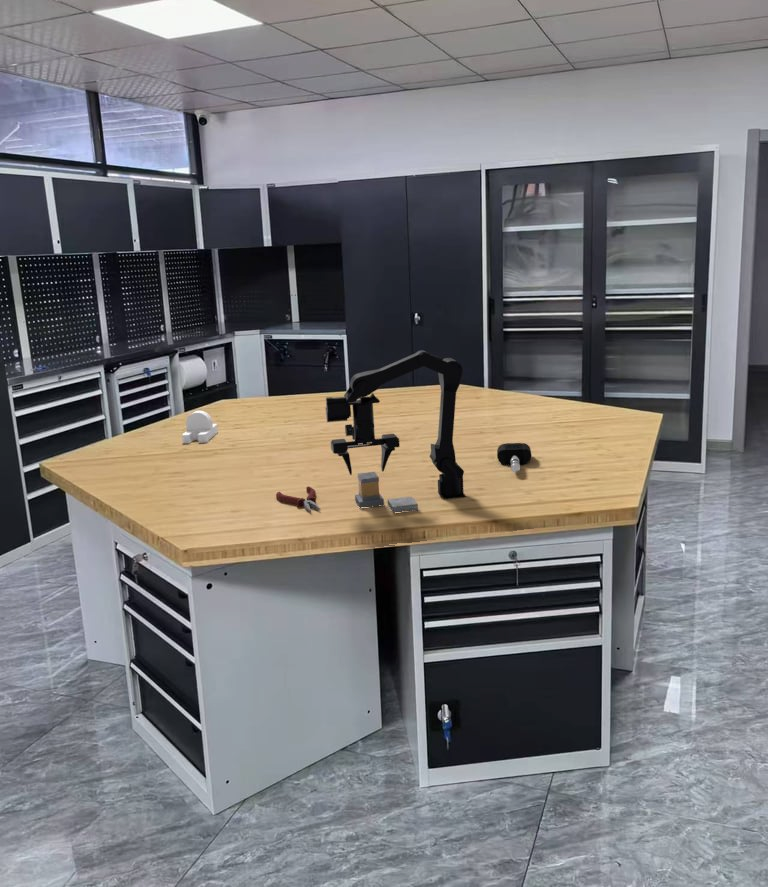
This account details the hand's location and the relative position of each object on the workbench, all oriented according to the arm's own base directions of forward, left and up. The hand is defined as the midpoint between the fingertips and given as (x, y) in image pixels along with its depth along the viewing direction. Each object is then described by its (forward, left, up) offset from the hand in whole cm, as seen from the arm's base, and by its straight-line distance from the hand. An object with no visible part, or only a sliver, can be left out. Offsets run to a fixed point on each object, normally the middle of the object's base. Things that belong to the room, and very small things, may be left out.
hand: (366, 472), depth 233 cm
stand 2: (-8, +8, -9) cm, 14 cm away
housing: (0, 0, -7) cm, 7 cm away
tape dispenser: (+48, -106, -10) cm, 117 cm away
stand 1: (0, 0, -9) cm, 9 cm away
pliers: (+19, -8, -10) cm, 23 cm away
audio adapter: (-51, -19, -10) cm, 56 cm away
